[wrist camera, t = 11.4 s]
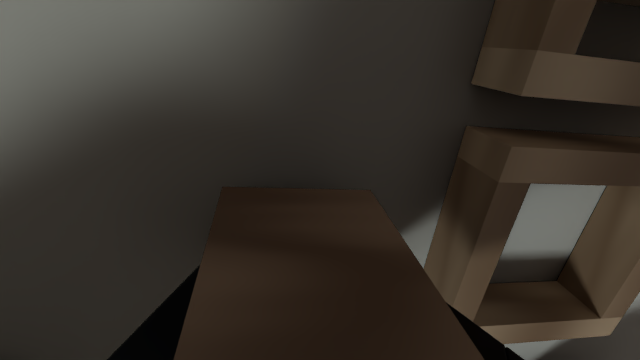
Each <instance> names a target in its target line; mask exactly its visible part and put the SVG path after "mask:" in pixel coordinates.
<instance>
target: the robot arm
mask: <svg viewBox="0 0 640 360" xmlns="http://www.w3.org/2000/svg"><path fill="white" fill-rule="evenodd" d="M199 268H200V265H199V266H198V267H197V268H196V269H195V270H194V271H193V272H192V273H191V274H190V275H189V276H188V278H187V279H186V280H185V281H184V282H183V283H182V284H181V285H180V286H179V287H178V288H177V289H176V290H175V291H174V292H173V293H172V294H171V295H170V296H169V297H168V298H167V299H166V300H165V301H164V302H163V303H162V304H161V305H160V306H159V307H158V308H157V309H156V310H155V311H154V312H153V313H152V314H151V315H150V316H149V317H148V318H147V319H146V320H145V321H144V322H143V323H142V324H141V326H140V327H139V328H138V329H137V330H136V331H135V332H134V333H133V334H132V335H131V336H130V337H129V338H128V339H127V340H126V341H125V342H124V343H123V344H122V345H121V346H120V347H119V348H118V349H117V350H116V351H115V352H114V353H113V354H112V355H111V356H110V357H109V358H108V359H107V360H174V357H175V353H176V349H177V346H178V342H179V339H180V335H181V332H182V328H183V325H184V321H185V318H186V314H187V310H188V307H189V303H190V300H191V296H192V293H193V289H194V286H195V282H196V279H197V275H198V272H199ZM446 303H447V302H446ZM447 305H448V306H449V308H450V309H451V311H452V312H453V314H454V315H455V317H456V318H457V320H458V321H459V323H460V324H461V326H462V327H463V329H464V330H465V332H466V333H467V335H468V336H469V337H470V339H471V340H472V342H473V343H474V345H475V346H476V348H477V349H478V351H479V352H480V354H481V355H482V357H483V358H484V360H524V359H523V358H521V357H520V356H519V355H517V354H516V353H515V352H513V351H512V350H511V349H509V348H508V347H506V348H505V346H504V344H502V343H501V342H500V341H498V340H497V339H495V338H494V337H493V336H491V335H490V334H489V333H487V332H486V331H485V330H483V329H482V328H481V327H479V326H478V325H477V324H475V323H474V322H472V321H471V320H470V319H468V318H467V317H466V316H464V315H463V314H462V313H460V312H459V311H458V310H456V309H455V308H453V307H452V306H451V305H449V304H448V303H447Z"/></svg>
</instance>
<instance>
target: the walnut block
mask: <svg viewBox="0 0 640 360" xmlns="http://www.w3.org/2000/svg"><path fill="white" fill-rule="evenodd" d="M174 360H484V358H483V357H482V355H481V354H480V352H479V351H478V349H477V348H476V346H475V345H474V343H473V342H472V340H471V339H470V337H469V336H468V335H467V333H466V332H465V330H464V329H463V327H462V326H461V324H460V323H459V321H458V320H457V318H456V317H455V315H454V314H453V312H452V311H451V309H450V308H449V306H448V305H447V303H446V302H445V300H444V299H443V297H442V296H441V294H440V293H439V291H438V290H437V288H436V287H435V285H434V284H433V282H432V281H431V279H430V278H429V277H428V275H427V274H426V272H425V271H424V269H423V268H422V266H421V265H420V263H419V262H418V260H417V259H416V257H415V256H414V254H413V253H412V251H411V250H410V248H409V247H408V245H407V244H406V242H405V241H404V239H403V238H402V236H401V235H400V233H399V232H398V230H397V229H396V227H395V226H394V224H393V223H392V221H391V220H390V218H389V217H388V216H387V214H386V213H385V211H384V210H383V208H382V207H381V205H380V204H379V202H378V201H377V199H376V198H375V196H374V195H373V193H372V192H371V190H348V189H303V188H258V187H222V190H221V194H220V197H219V201H218V204H217V208H216V211H215V215H214V218H213V222H212V225H211V229H210V233H209V236H208V240H207V243H206V247H205V250H204V254H203V257H202V261H201V264H200V268H199V272H198V275H197V279H196V282H195V286H194V289H193V293H192V296H191V300H190V303H189V307H188V310H187V314H186V318H185V321H184V325H183V328H182V332H181V335H180V339H179V342H178V346H177V349H176V353H175V357H174Z"/></svg>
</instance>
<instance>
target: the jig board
mask: <svg viewBox="0 0 640 360" xmlns="http://www.w3.org/2000/svg"><path fill="white" fill-rule="evenodd" d="M596 1H597V0H495V3H494V7H493V10H492V14H491V17H490V21H489V24H488V27H487V31H486V34H485V38H484V41H483V45H482V48H481V52H480V55H479V59H478V62H477V66H476V69H475V72H474V76H473V79H472V83H471V84H474V85H478V86H482V87H487V88H491V89H495V90H499V91H503V92H507V93H511V94H515V95H519V96H528V97H539V98H551V99H562V100H573V101H584V102H596V103H607V104H618V105H630V106H640V63H639V62H630V61H622V60H614V59H605V58H597V57H589V56H581V55H575V53H576V51H577V48H578V46H579V43H580V41H581V38H582V36H583V33H584V31H585V28H586V26H587V23H588V21H589V19H590V16H591V14H592V11H593V9H594V6H595V4H596ZM531 183H538V184H572V185H607V187H606V189H605V191H604V193H603V195H602V196H601V198H600V200H599V202H598V204H597V206H596V208H595V210H594V212H593V213H592V215H591V217H590V219H589V221H588V223H587V225H586V227H585V229H584V230H583V232H582V234H581V236H580V238H579V240H578V242H577V244H576V246H575V247H574V249H573V251H572V253H571V255H570V257H569V259H568V261H567V263H566V264H565V266H564V268H563V270H562V272H561V274H560V276H559V278H558V280H557V281H544V282H518V283H492V284H489V282H490V280H491V277H492V275H493V273H494V270H495V268H496V265H497V263H498V261H499V258H500V256H501V253H502V251H503V249H504V246H505V244H506V241H507V239H508V237H509V234H510V232H511V229H512V227H513V225H514V222H515V220H516V217H517V215H518V213H519V210H520V208H521V205H522V203H523V201H524V198H525V196H526V193H527V191H528V189H529V186H530V184H531ZM424 271H425V272H426V274H427V275H428V277H429V278H430V279H431V281H432V282H433V284H434V285H435V287H436V288H437V290H438V291H439V293H440V294H441V296H442V297H443V299H444V300H445V302H447V303H448V304H449V305H451V306H452V307H453V308H455V309H456V310H458V311H459V312H460V313H462V314H463V315H464V316H466V317H467V318H468V319H470V320H471V321H472V322H474V323H475V324H477V325H478V326H479V327H481V328H482V329H483V330H485V331H486V332H487V333H489V334H490V335H491V336H493V337H494V338H495V339H497V340H498V341H500V342H501V343H502V344H510V343H523V342H535V341H548V340H560V339H573V338H585V337H598V336H610V335H611V333H612V332H613V330H614V329H615V327H616V326H617V324H618V323H619V321H620V320H621V318H622V317H623V315H624V314H625V313H626V311H627V310H628V308H629V307H630V305H631V304H632V302H633V301H634V299H635V298H636V296H637V295H638V293H639V292H640V137H627V136H612V135H597V134H582V133H566V132H551V131H536V130H521V129H505V128H490V127H475V126H466V129H465V132H464V136H463V139H462V142H461V146H460V149H459V152H458V156H457V159H456V162H455V166H454V169H453V172H452V176H451V179H450V182H449V186H448V189H447V192H446V196H445V199H444V203H443V206H442V209H441V213H440V216H439V219H438V223H437V226H436V229H435V233H434V236H433V239H432V243H431V246H430V249H429V253H428V256H427V259H426V263H425V266H424Z"/></svg>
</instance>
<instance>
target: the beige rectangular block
mask: <svg viewBox="0 0 640 360" xmlns="http://www.w3.org/2000/svg"><path fill="white" fill-rule="evenodd" d="M598 1H604V2H611V3H617V4H624V5H631V6H637V7H640V0H598Z"/></svg>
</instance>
